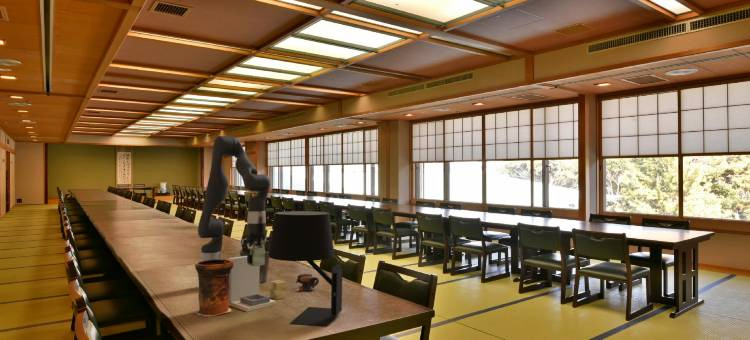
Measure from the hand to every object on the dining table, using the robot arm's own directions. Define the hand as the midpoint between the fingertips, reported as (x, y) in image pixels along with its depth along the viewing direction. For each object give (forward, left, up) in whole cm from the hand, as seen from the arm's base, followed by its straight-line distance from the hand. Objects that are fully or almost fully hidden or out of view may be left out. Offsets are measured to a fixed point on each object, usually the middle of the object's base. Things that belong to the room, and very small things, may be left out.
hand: (255, 262), depth 188 cm
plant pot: (-37, +26, -18) cm, 49 cm away
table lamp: (+25, +5, -18) cm, 31 cm away
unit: (-2, 0, -18) cm, 18 cm away
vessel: (-5, -16, -18) cm, 25 cm away
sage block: (0, 0, -1) cm, 1 cm away
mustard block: (-4, +15, -18) cm, 24 cm away
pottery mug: (-6, +34, -18) cm, 39 cm away
